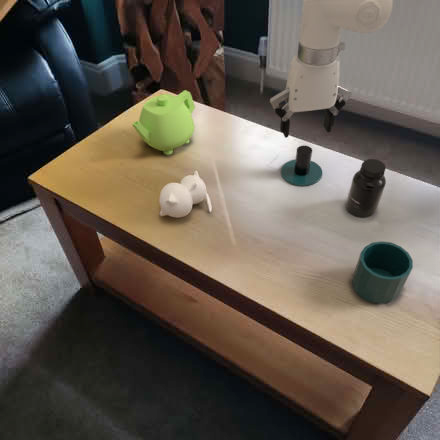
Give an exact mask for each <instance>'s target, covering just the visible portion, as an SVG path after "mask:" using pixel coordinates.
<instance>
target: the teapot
mask: <svg viewBox="0 0 440 440" xmlns="http://www.w3.org/2000/svg"><path fill="white" fill-rule="evenodd" d="M195 109H196V105H195V102H194V100H193V96H192V94H191V92H190V91H189V90H187V89H184V90H182V91H181V92H180V93H179V94H177V95H172V94H169V93H163V94H159V95H156V96H154V97H152V98H149V99H148V100H147V101H146V102H145V103H144V104H143V106H142V108H141V111H140V115H139V118H138V119H139V120H135V121H134V122H133V123H131V125H132V127H133V129H134V130H135V131H136V133H137V134H138V135H139V137H140V138H141V140H142V141H143V142H145V144H147V145H148V146H150V147H151V148H153V149H155V150H157V151H163V154H164V155H171V154H173V152H174V150H175V149H177V148H179V147H181V146H183V145H186V144H189V143H190V139H191V137H192V135H193V134H194V132H195V122H194V119H193V116H192V114H193V112H194V110H195Z"/></svg>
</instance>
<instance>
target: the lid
mask: <svg viewBox="0 0 440 440" xmlns="http://www.w3.org/2000/svg"><path fill="white" fill-rule="evenodd" d="M312 155H313V148H312V147H310V146H309V145H300V146H298V147H296V152H295V158H294V159H291V160H288V161H286V162H285V163H284V164H283V165H282V166H281V169H280V176H281V177H282V179H283V180H284V181H285V182H287V183H288V184H290V185H293V186H297V187H308V186H312V185H315V184H317V183H318V182H320V180H321V179H322V178H323V169H322V167H321V166H320V165H319V164H318V163H317V162H315V161H313V160H312V157H313V156H312Z"/></svg>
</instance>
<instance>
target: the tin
mask: <svg viewBox="0 0 440 440" xmlns="http://www.w3.org/2000/svg"><path fill="white" fill-rule="evenodd" d="M413 268H414V264H413V258H412V256H411V255H410V253H409V252H408V251H407V250H406V249H404V248H403V247H402V246H401V245H398V244H396V243H393V242H390V241H383V240H382V241H380V240H379V241H375V242H371V243H369V244H367V245H366V246H364V247H363V249H362V250H361V252H360V254H359V258H358V260H357V263H356V266H355V269H354V272H353V275H352V282H351V283H352V288H353V289H354V291H355V293H356V294H357V295H358V296H359V297H360V298H361V299H363V300H365V301H366V302H369V303H373V304H380V305H382V304H388V303H391V302H393V301H395V300H396V299H397V298H398V297H399V296H400V294H401V292H402V290H403V288H404V287H405V285H406V283H407V280H408V279H409V276H410V274H411V272H412V270H413Z"/></svg>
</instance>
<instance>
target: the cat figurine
mask: <svg viewBox="0 0 440 440" xmlns="http://www.w3.org/2000/svg"><path fill="white" fill-rule="evenodd" d="M204 200H206V205H207V208H208V209H207V210H208V212H209V213H210V214H211V213H212V210H213V209H212V202H211V198H210V196H209V194H208V192H207V187H206V183H205V181H204V180H203V179H202V178H200V175H199V172H198V171H197V170H194V171H193V174H188V175H186V176H184V177H183V178H182V179H181V181H180V182H169V183H167V184H165V186H163V188H162V189H161V191H160V193H159V201H158V202H159V206H160V211H159V216H160V217H164V216H169V217H171V218H177V219H178V218H185V217H186V216H187V215H189V214H190V213H191V211H192V209H193V205H197V204H200V203H202V202H203V201H204Z"/></svg>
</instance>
